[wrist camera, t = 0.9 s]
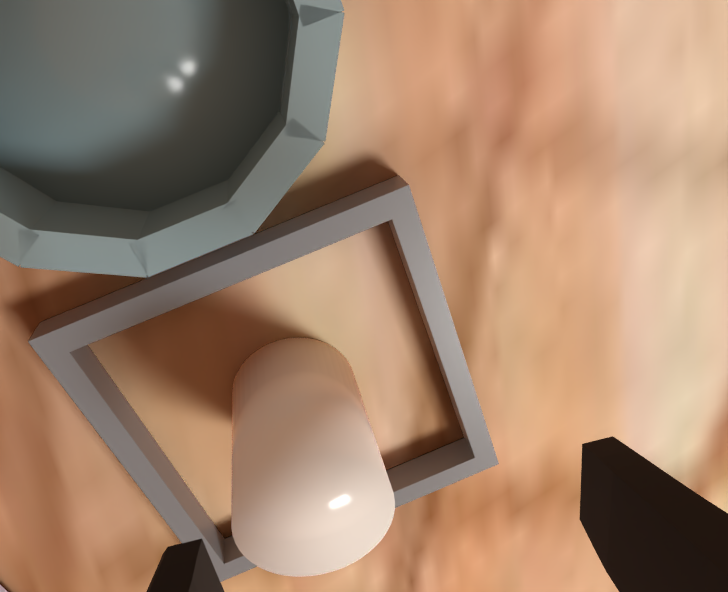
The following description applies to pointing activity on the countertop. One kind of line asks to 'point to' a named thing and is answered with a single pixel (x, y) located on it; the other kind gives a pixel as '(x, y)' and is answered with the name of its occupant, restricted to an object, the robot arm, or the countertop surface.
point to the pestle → (304, 462)
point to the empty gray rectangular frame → (225, 268)
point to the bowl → (155, 125)
